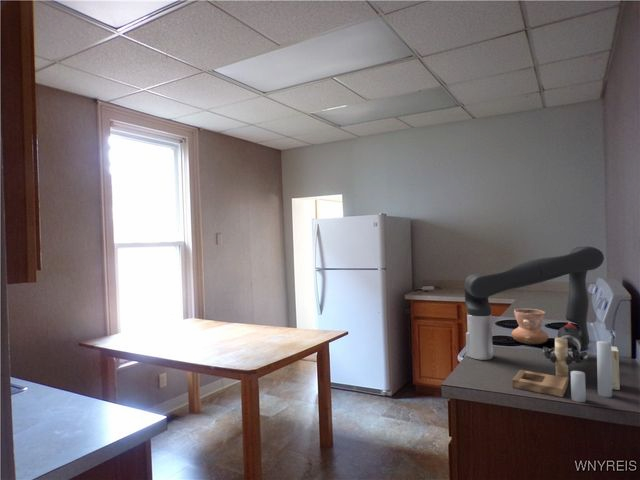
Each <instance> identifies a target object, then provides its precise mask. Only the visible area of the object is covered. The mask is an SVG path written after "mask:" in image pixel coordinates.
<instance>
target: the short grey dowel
mask: <svg viewBox="0 0 640 480" xmlns="http://www.w3.org/2000/svg"><path fill="white" fill-rule="evenodd" d="M586 389H587V388H586V373H585V372H584V371H580V370H572V371H571V370H570V392H571V393H570V395H571V396H570V397H571V400H572V401H574V402H576V403H585V402H586V401H587V398H586V397H587V396H586V394H587V393H586Z"/></svg>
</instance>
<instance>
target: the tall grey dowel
mask: <svg viewBox="0 0 640 480" xmlns="http://www.w3.org/2000/svg"><path fill="white" fill-rule="evenodd" d="M611 346H612V342H611V341H606V340H597V341H596V368H597V369H596V371H597V373H596V376H597V395H598V396H601V397H603V398H612V397H613V389H612V358H611Z"/></svg>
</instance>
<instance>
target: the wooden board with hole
mask: <svg viewBox="0 0 640 480" xmlns="http://www.w3.org/2000/svg"><path fill="white" fill-rule="evenodd" d="M568 380H569V377H568V378H566V377H560V376H556V375H553V374H547V373H542V372H541V373H540V372H536V371H535V372H534V371H529V370H524V369H520V370H518V372H517V373H516V374H515V376H514V377H513V378H512V388H514V389H518V390H519V389H520V390H525V391H529V392H533V393H534V392H535V393H540V394H545V395H549V396H550V395H551V396H556V397H560V398H563V397H564V395H565V393H566V390H567V388H568V386H569V385H568V384H569V382H568Z"/></svg>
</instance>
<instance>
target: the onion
mask: <svg viewBox="0 0 640 480" xmlns="http://www.w3.org/2000/svg"><path fill="white" fill-rule="evenodd" d="M563 327H570V328H575V329H578V328H577V327H576V326H575V325H574V324H573V323H572V322H571V321H568V322H567V324H565V325H564V326H563Z"/></svg>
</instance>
